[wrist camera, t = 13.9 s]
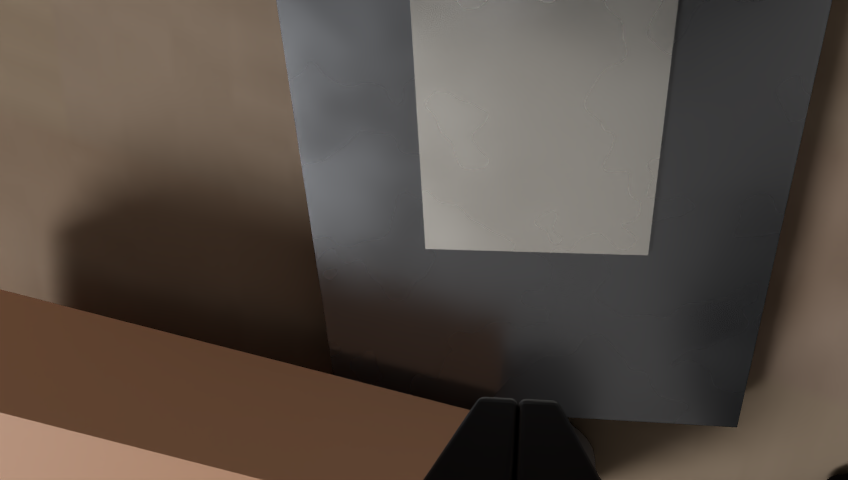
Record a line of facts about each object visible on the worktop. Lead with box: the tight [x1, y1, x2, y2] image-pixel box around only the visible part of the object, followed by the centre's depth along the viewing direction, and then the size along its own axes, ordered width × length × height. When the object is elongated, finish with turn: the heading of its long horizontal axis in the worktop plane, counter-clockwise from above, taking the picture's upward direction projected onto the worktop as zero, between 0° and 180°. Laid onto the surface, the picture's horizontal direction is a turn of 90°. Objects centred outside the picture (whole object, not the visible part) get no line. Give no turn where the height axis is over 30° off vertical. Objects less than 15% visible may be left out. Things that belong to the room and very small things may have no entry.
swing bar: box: [0, 290, 596, 480], centre depth 20 cm, size 16×5×5 cm, turn 78°
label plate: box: [276, 0, 832, 427], centre depth 17 cm, size 10×13×1 cm
